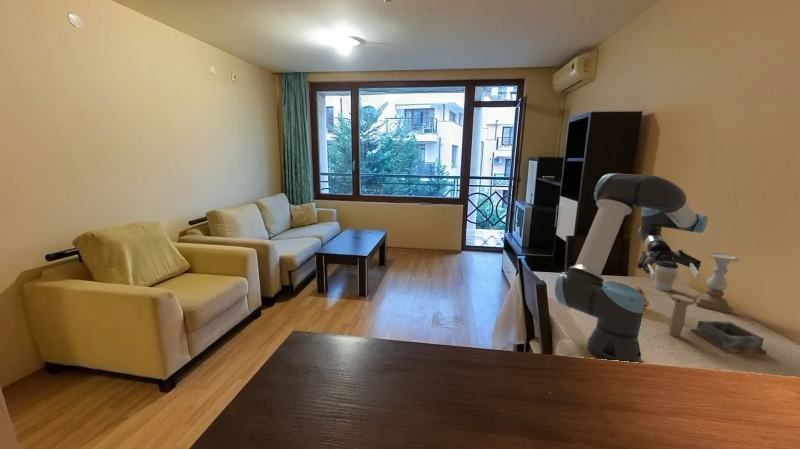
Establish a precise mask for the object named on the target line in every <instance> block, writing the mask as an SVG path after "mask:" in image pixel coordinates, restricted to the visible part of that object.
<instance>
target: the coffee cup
mask: <svg viewBox="0 0 800 449" xmlns="http://www.w3.org/2000/svg"><path fill="white" fill-rule="evenodd" d="M654 269H655V270H654V273H655V279H654V282H653V283H654V285H653V287H654V288H655V289H657V290H659V291H663V292H670V291H671V289H672V287H673V283H674V282H675V278H676V275H677V271H678V269H679V265H678V263H676V262H671V261H657V262H656V263H655V268H654Z"/></svg>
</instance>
